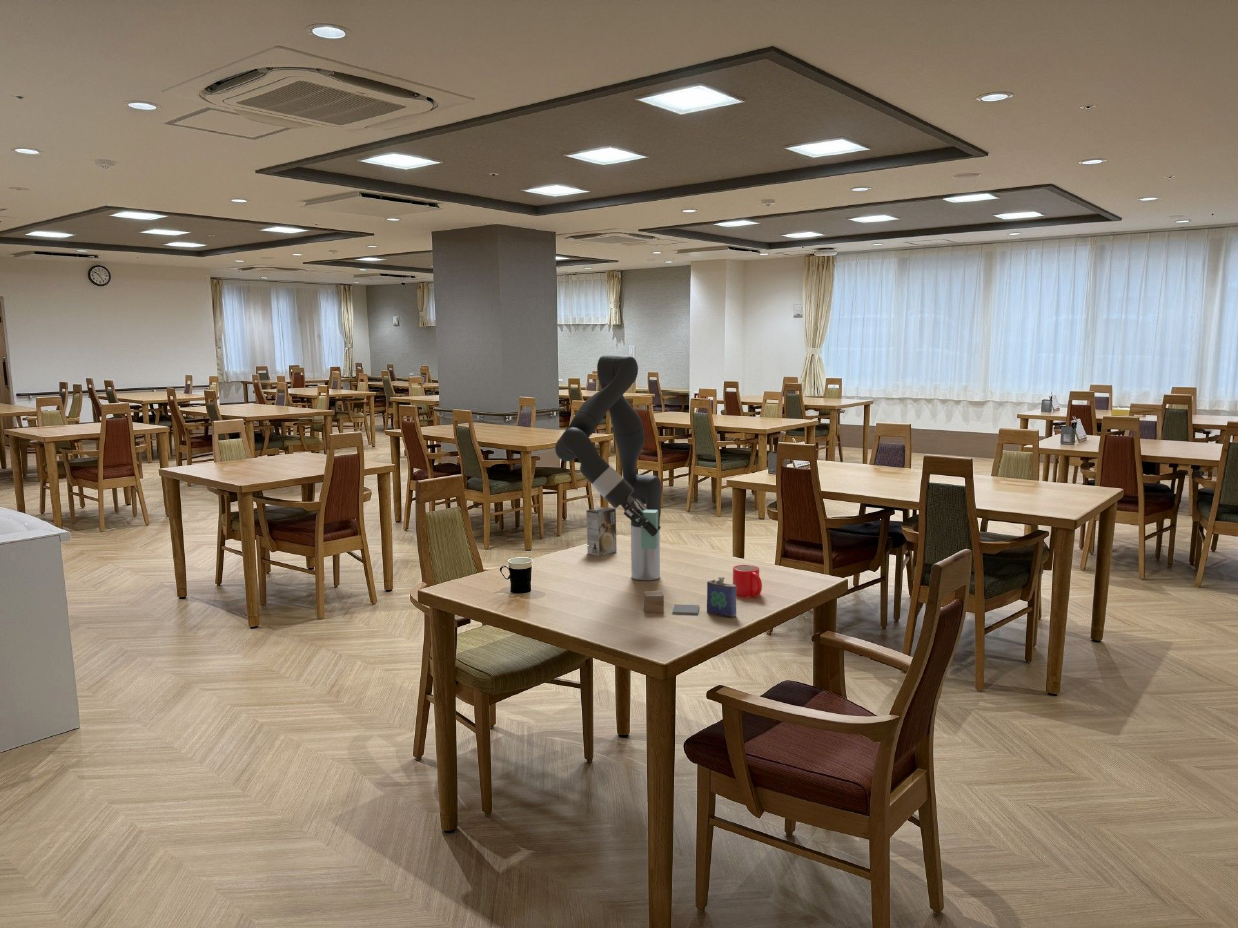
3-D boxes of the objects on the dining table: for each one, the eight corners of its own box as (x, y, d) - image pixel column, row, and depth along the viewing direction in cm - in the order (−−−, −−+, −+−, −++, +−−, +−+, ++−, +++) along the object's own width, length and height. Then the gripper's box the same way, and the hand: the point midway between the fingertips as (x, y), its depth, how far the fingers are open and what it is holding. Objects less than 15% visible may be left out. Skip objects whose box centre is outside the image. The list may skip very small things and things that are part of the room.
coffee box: (604, 549, 318) (603, 506, 316) (617, 551, 314) (616, 508, 312) (586, 553, 312) (586, 509, 309) (599, 556, 307) (598, 512, 305)
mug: (750, 602, 251) (750, 575, 250) (727, 591, 262) (727, 566, 261) (772, 598, 255) (773, 572, 254) (749, 588, 266) (749, 563, 264)
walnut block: (644, 608, 247) (644, 591, 247) (661, 607, 248) (661, 590, 247) (646, 613, 242) (645, 596, 242) (663, 612, 243) (663, 595, 242)
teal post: (643, 545, 239) (643, 509, 237) (658, 545, 238) (658, 509, 237) (641, 548, 235) (641, 512, 234) (655, 549, 234) (655, 512, 233)
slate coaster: (674, 608, 248) (674, 604, 248) (699, 609, 247) (699, 605, 247) (672, 615, 242) (672, 611, 241) (697, 616, 240) (697, 612, 240)
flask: (738, 616, 239) (738, 578, 237) (732, 619, 236) (732, 580, 235) (709, 610, 244) (709, 573, 243) (704, 612, 242) (703, 575, 241)
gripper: (617, 482, 228) (663, 528, 228) (627, 473, 242) (670, 517, 242) (597, 501, 230) (643, 547, 230) (608, 492, 244) (651, 535, 243)
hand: (656, 531), depth 236 cm, fingers closed on teal post, 4 cm apart
